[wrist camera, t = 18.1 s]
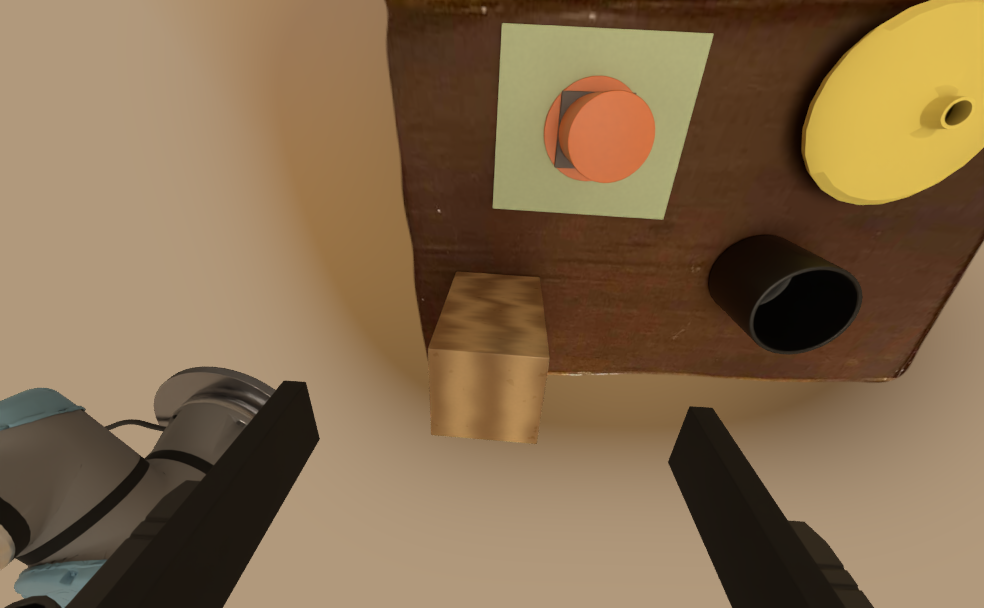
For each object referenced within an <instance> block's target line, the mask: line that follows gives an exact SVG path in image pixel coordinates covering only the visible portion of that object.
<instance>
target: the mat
mask: <svg viewBox="0 0 984 608" xmlns="http://www.w3.org/2000/svg"><path fill="white" fill-rule="evenodd" d="M713 35H714V34H713V33H692V32H672V31H652V30H632V29H612V28H592V27H572V26H551V25H531V24H511V23H502V31H501V51H500V71H499V91H498V111H497V131H496V151H495V170H494V190H493V208H494V209H509V210H525V211H540V212H555V213H570V214H586V215H601V216H616V217H631V218H647V219H662V220H663V218H664V215H665V211H666V207H667V204H668V200H669V196H670V193H671V189H672V185H673V182H674V178H675V174H676V171H677V167H678V163H679V160H680V156H681V152H682V149H683V145H684V141H685V138H686V134H687V130H688V127H689V123H690V119H691V116H692V112H693V108H694V105H695V101H696V97H697V94H698V90H699V86H700V83H701V79H702V75H703V72H704V68H705V64H706V61H707V57H708V53H709V50H710V46H711V42H712V39H713ZM590 76H608V77H612V78H615V79H617V80H619V81H621V82H622V83H624V84H625V85H626V86H627V87H629V88H630V90H631V91H632V92H633V93H637V94H636V95H637V96H639V97H640V98H642V99H643V100H644V101H645V102H646V104H647V105H648V106H649V108H650V110H651V112H652V114H653V117H654V121H655V139H654V143H653V147H652V149H651V152H650V154H649V155H648V157H647V159H646V160H645V162H644V163H643V164H642V165H641V167H640V168H639V169H638V170H636V171H635V172H634V173H633V174H631V175H630V176H628V177H626V178H625V179H622V180H620V181H616V182H612V183H598V182H594V181H579V180H575V179H572V178H570V177H568V176H566V175H564V174H563V173H561V172H560V171H559V170H558V169H557V168H555V167H554V164H553V163H552V162H551V160H550V158H549V156H548V154H547V151H546V148H545V143H544V126H545V121H546V117H547V114H548V111H549V109H550V107H551V105H552V103H553V102H554V101H555V99H556V98H557V96H558V95H559V94H560V93H561V92H562V91H563V90H564V89H565V88H566V87H568V86H569V85H571V84H572V83H574V82H576V81H578V80H580V79H583V78H586V77H590Z"/></svg>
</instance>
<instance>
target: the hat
mask: <svg viewBox="0 0 984 608" xmlns="http://www.w3.org/2000/svg"><path fill="white" fill-rule="evenodd" d="M636 94H637V93H633V92H632V91H631V90H630V88H629V87H627V86H626V85H625V84H624V83H622V82H621V81H619V80H617V79H615V78H612V77H608V76H590V77H586V78H583V79H580V80H578V81H576V82H574V83H572V84H571V85H569V86H568V87H566V88H565V89H564V90H563V91H562V92H561V93H560V94H559V95H558V96H557V98H556V99H555V101H554V102H553V103H552V105H551V107H550V109H549V111H548V114H547V117H546V121H545V126H544V143H545V148H546V151H547V154H548V156H549V158H550V160H551V162H552V163H553V164H554V167H555V168H557V169H558V170H559V171H560V172H561V173H563V174H564V175H566V176H568V177H570V178H572V179H575V180H579V181H594V182H598V183H612V182H616V181H620V180H622V179H625V178H626V177H628V176H630V175H631V174H633V173H634V172H635V171H636V170H638V169H639V168H640V167H641V165H642V164H643V163H644V162H645V160H646V159H647V157H648V155H649V154H650V152H651V149H652V147H653V143H654V139H655V121H654V117H653V114H652V112H651V110H650V108H649V106H648V105H647V104H646V102H645V101H644V100H643V99H642V98H640V97H639V96H637V95H636Z"/></svg>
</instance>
